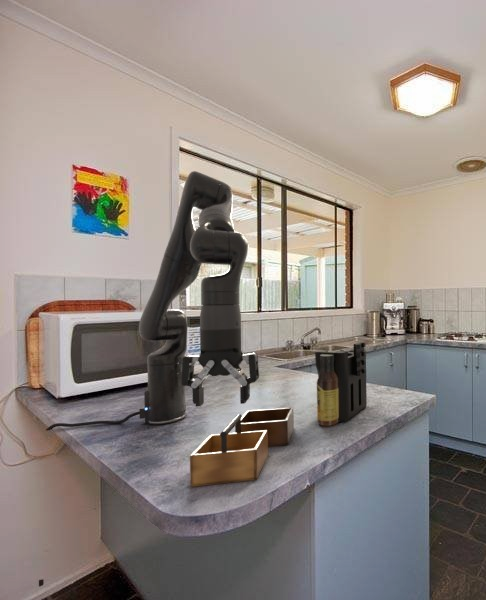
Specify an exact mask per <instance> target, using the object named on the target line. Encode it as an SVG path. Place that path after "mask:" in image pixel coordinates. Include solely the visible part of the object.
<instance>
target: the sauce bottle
mask: <svg viewBox="0 0 486 600" xmlns="http://www.w3.org/2000/svg"><path fill="white" fill-rule="evenodd" d="M320 360H321V371H320V374H319V377H318V376H317V380H316V408H317V409H316V410H317V411H316V412H317V413H316V414H317V416H316V417H317V422H318V424H319V426H325V427H328V426H335V425H336V424H338V423H339V422H338V418H339V387H338V377H337V375H336V373H335V371H334V355H331V354H321V355H320Z"/></svg>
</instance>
